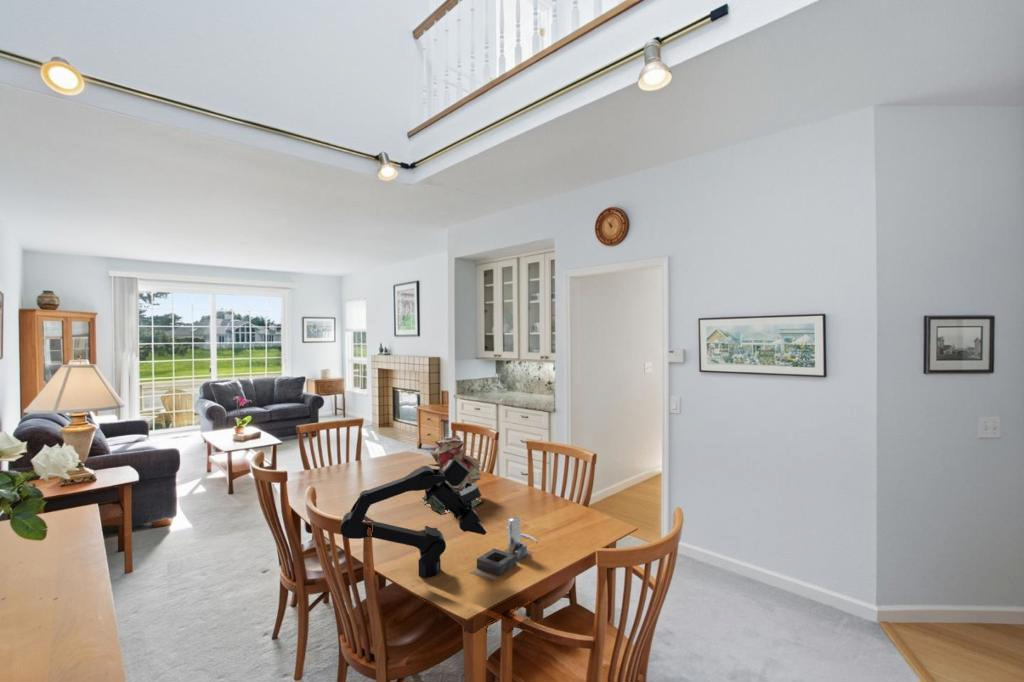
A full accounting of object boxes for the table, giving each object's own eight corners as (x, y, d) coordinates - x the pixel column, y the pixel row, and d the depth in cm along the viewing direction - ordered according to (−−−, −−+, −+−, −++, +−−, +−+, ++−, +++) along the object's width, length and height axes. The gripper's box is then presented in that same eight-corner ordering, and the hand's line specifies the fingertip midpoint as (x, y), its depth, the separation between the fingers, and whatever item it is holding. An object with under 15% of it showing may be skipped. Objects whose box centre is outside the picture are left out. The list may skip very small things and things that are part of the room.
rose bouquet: (445, 518, 194) (445, 446, 194) (415, 499, 218) (414, 435, 217) (496, 505, 210) (495, 438, 210) (462, 488, 233) (462, 428, 233)
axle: (515, 558, 156) (515, 521, 156) (506, 555, 158) (505, 519, 158) (522, 553, 159) (522, 518, 159) (512, 550, 161) (512, 515, 161)
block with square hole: (492, 586, 141) (492, 571, 141) (469, 577, 146) (469, 563, 146) (533, 556, 160) (533, 543, 160) (512, 549, 165) (512, 537, 165)
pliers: (512, 543, 168) (497, 527, 181) (512, 547, 168) (497, 532, 182) (537, 538, 171) (521, 523, 185) (537, 543, 171) (521, 527, 185)
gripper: (470, 486, 141) (506, 519, 144) (461, 469, 159) (493, 498, 162) (444, 515, 139) (481, 547, 142) (437, 494, 157) (470, 524, 160)
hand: (482, 527), depth 151 cm, fingers open, 9 cm apart
